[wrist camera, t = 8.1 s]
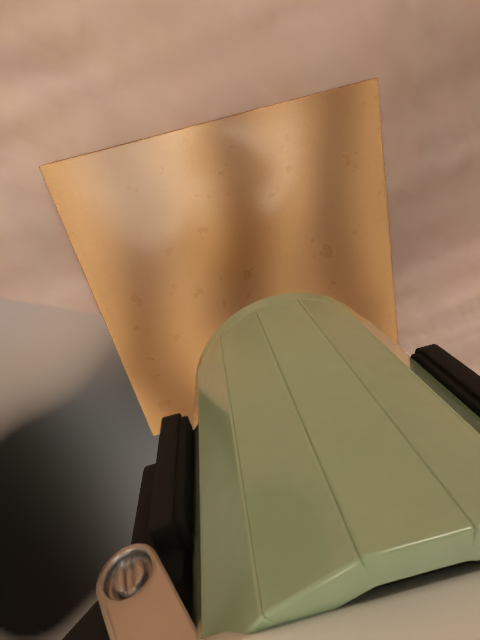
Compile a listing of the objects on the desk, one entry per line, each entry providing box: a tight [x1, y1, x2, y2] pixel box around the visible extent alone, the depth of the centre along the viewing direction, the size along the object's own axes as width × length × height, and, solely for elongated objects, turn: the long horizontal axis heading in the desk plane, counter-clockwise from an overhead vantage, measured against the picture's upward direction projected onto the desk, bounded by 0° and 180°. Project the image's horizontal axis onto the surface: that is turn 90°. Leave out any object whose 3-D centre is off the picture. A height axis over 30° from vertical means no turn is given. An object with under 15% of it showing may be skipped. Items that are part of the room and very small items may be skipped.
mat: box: [39, 78, 398, 435], centre depth 26 cm, size 20×20×1 cm
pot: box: [193, 292, 480, 640], centre depth 10 cm, size 7×7×9 cm
